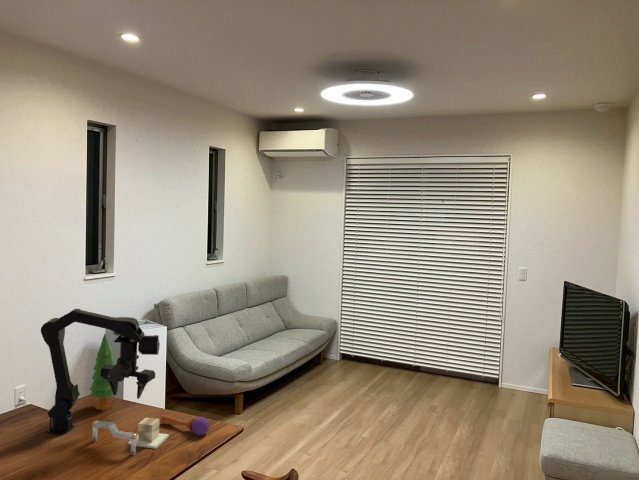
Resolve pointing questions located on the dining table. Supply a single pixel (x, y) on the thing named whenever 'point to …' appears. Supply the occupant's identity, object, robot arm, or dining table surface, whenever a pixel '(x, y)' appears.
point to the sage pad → (154, 443)
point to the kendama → (188, 424)
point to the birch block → (148, 430)
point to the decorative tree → (101, 385)
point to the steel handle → (114, 433)
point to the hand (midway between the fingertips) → (126, 396)
